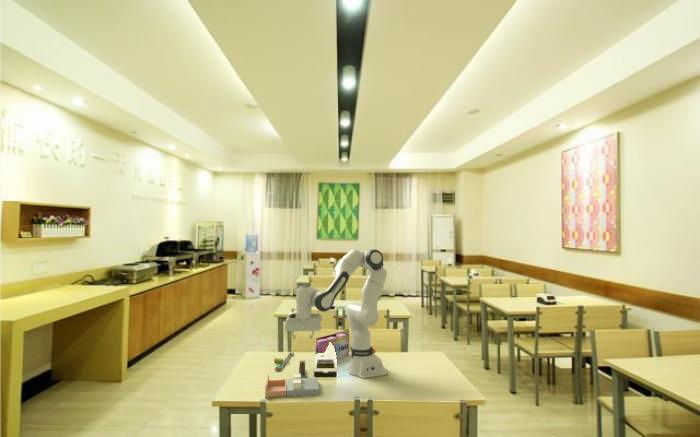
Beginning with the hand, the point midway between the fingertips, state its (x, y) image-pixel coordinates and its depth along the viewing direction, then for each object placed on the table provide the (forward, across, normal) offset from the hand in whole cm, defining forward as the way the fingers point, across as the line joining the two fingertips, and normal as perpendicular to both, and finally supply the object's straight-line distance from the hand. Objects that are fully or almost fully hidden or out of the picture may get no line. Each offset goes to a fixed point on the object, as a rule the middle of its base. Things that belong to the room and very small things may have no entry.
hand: (302, 338), depth 193 cm
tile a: (+18, +3, +12) cm, 22 cm away
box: (+21, +13, +16) cm, 30 cm away
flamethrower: (+22, +11, -23) cm, 34 cm away
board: (+21, 0, +16) cm, 27 cm away
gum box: (+21, -20, -27) cm, 40 cm away
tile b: (+18, +3, +19) cm, 27 cm away
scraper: (+21, 0, 0) cm, 21 cm away
